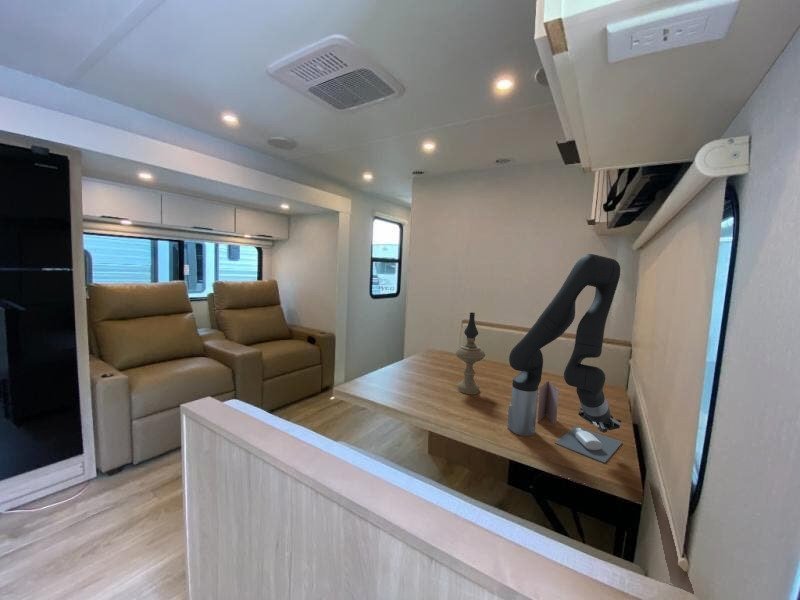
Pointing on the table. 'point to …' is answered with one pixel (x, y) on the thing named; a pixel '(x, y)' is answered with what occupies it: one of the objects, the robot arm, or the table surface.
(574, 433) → the mat
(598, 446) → the eye dropper bottle
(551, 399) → the greeting card
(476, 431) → the table surface
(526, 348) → the robot arm
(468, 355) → the oil lamp
